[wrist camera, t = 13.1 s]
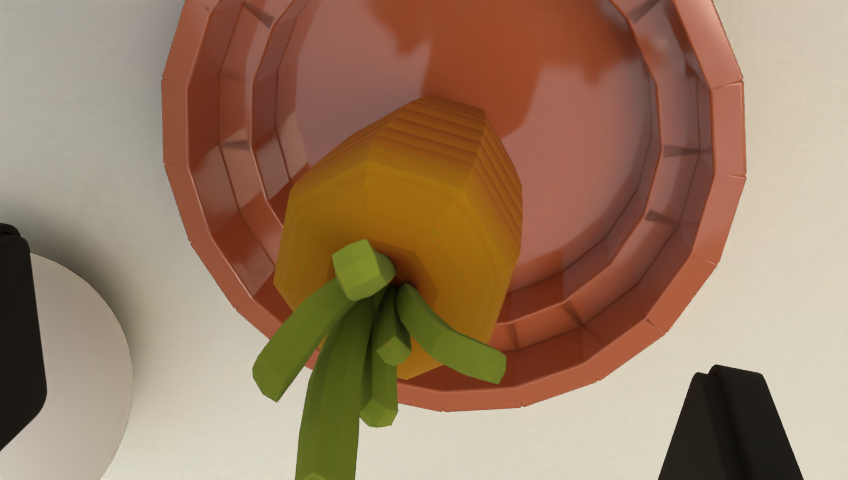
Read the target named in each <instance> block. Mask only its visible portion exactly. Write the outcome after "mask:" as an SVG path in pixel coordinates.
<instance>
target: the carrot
mask: <svg viewBox="0 0 848 480" xmlns="http://www.w3.org/2000/svg"><path fill="white" fill-rule="evenodd" d="M522 221H523V201H522V185H521V182H520V179H519V177H518V174H517V171H516V168H515V166H514V164H513V162H512V160H511V159H510V157H509V155H508V153H507V151H506V149H505V147H504V145H503V144H502V142H501V140H500V138H499V137H498V135H497V133H496V131H495V129H494V128H493V126H492V124H491V122H490V120H489V119H488V117H487V115H486V113H485V112H484V110H483V109H480V108H477V107H473V106H470V105H467V104H463V103H460V102H456V101H453V100H449V99H446V98H443V97H439V96H436V95H434V96H425V97H422V98H419V99H416V100H413V101H411V102H409V103H407V104H406V105H404V106H402V107H400V108H398V109H397V110H395V111H393V112H391V113H390V114H388V115H386V116H384V117H383V118H381V119H379V120H377V121H375V122H374V123H372V124H370V125H368V126H367V127H365V128H363V129H361V130H359V131H358V132H356V133H354V134H352V135H351V136H349V137H348V138H347V139H345V140H344V141H343V142H342V143H340V144H339V145H338V146H337V147H335V148H334V149H333V150H332V151H330V152H329V153H328V154H327V155H325V156H324V157H323V158H322V159H321V160H320V161H319V162H317V163H316V164H315V165H314V166H313V167H312V168H311V169H310V170H309V171H308V172H307V173H306V174H304V175H303V176H302V177H301V178H300V179H299V180H298V181H297V182H296V183H295V184H294V185H293V187H292V189H291V190H290V193H289V198H288V204H287V209H286V215H285V220H284V226H283V231H282V237H281V242H280V248H279V253H278V259H277V264H276V270H275V275H274V281H273V284H274V285H275V287H276V288H277V290H278V291H279V292H280V294H281V295H282V297H283V298H284V300H285V301H286V303H287V304H288V305H289V307H290V308H291V310H292V311H293V313H292V314H291V315H290V317H289V318H288V319H287V320H286V321H285V322H284V323H283V324H282V325H281V326H280V328H279V329H278V330H277V332H276V333H275V334H274V336H273V337H272V338H271V340H270V341H269V342H268V344H267V345H266V346H265V348H264V349H263V350H262V352H261V353H260V354H259V356H258V357H257V360H256V362H255V364H254V366H253V368H252V370H253V378H254V380H255V382H256V383H257V385H258V387H259V388H260V390H261V392H262V394H264V395H265V396H267V397H269V398H270V399H272V400H273V401H275V402H276V403H277V402H278V401H279V399H280V398H281V397H282V395H283V394H284V392H285V391H286V390H287V388H288V387H289V386H290V384H291V383H292V382H293V380H294V379H295V378H296V376H297V375H298V374H299V372H300V371H301V369H302V368H303V367H304V365H305V364H306V362H307V361H308V360H309V358H310V357H311V355H312V354H313V352H314V351H315V350H316V348H317V347H318V349H319V350H320V353H319V355H318V358H317V361H316V363H315V366H314V369H313V371H312V374H311V377H310V380H309V382H308V388H307V394H306V399H305V405H304V410H303V416H302V421H301V427H300V432H299V442H298V453H297V464H296V475H295V480H355V471H356V459H357V448H358V436H359V417H360V418H361V419H362V420H363V421H364V422H365V423H366V424H367V425H368V426H370V427H385V426H390V425H392V423H393V421H394V419H395V417H396V414H397V412H398V401H397V377H398V378H401V379H404V380H408V379H410V378H413V377H415V376H417V375H420V374H422V373H425V372H427V371H430V370H432V369H434V368H437V367H439V366H442V365H446V366H448V367H450V368H452V369H454V370H456V371H458V372H460V373H462V374H464V375H467V376H470V377H474V378H477V379H481V380H484V381H487V382H491V383H495V384H499V383H500V381H501V379H502V377H503V375H504V373H505V372H506V361H507V356H506V355H504V354H503V353H502V352H500V351H499V350H497V349H495V348H493V347H491V346H489V345H487V344H488V343H489V341H490V339H491V337H492V334H493V331H494V328H495V325H496V322H497V319H498V316H499V313H500V310H501V307H502V305H503V302H504V299H505V296H506V293H507V290H508V287H509V284H510V281H511V278H512V275H513V272H514V270H515V267H516V264H517V261H518V258H519V255H520V252H521V238H522Z"/></svg>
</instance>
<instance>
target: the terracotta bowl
mask: <svg viewBox="0 0 848 480" xmlns="http://www.w3.org/2000/svg"><path fill="white" fill-rule="evenodd" d="M162 78H163V79H162V81H161V87H162V127H163V162H164V164H165V165H164V167H165V170H166V173H167V176H168V179H169V182H170V185H171V188H172V191H173V194H174V197H175V200H176V203H177V206H178V209H179V212H180V215H181V218H182V221H183V224H184V227H185V230H186V233H187V236H188V240H189V241H190V242H191V246H192V247H193V249H194V250H195V252H196V253H197V255H198V256H199V257H200V259H201V260H202V262H203V263H204V265H205V266H206V268H207V269H208V271H209V272H210V274H211V275H212V277H213V278H214V280H215V281H216V283H217V284H218V286H219V287H220V288H221V290H222V291H223V293H224V294H225V296H226V297H227V299H228V300H229V302H230V303H231V305H232V306H233V308H236V311H237V312H238V313H239V314H241V315H242V316H243V317H244V318H245V319H246V320H248V321H249V322H250V323H251V324H252V325H253V326H254V327H256V328H257V329H258V330H259V331H260V332H261V333H263V334H264V335H265V336H266V337H267V338H268V339H269V340H271V338H272V337H273V336H274V334H275V333H276V332H277V330H278V329H279V328H280V326H281V325H282V324H283V323H284V322H285V321H286V320H287V319H288V318H289V317H290V315H291V314H292V313H293V311H292V310H291V308H290V307H289V305H288V304H287V303H286V301H285V300H284V298H283V297H282V295H281V294H280V292H279V291H278V290H277V288H276V287H275V285H274V284H273V281H274V275H275V270H276V264H277V259H278V253H279V248H280V242H281V237H282V231H283V226H284V220H285V215H286V209H287V204H288V198H289V193H290V190H291V189H292V187H293V185H294V184H295V183H296V182H297V181H298V180H299V179H300V178H301V177H302V176H303V175H304V174H306V173H307V172H308V171H309V170H310V169H311V168H312V167H313V166H314V165H315V164H316V163H317V162H319V161H320V160H321V159H322V158H323V157H324V156H325V155H327V154H328V153H329V152H330V151H332V150H333V149H334V148H335V147H337V146H338V145H339V144H340V143H342V142H343V141H344V140H345V139H347V138H348V137H349V136H351V135H352V134H354V133H356V132H358V131H359V130H361V129H363V128H365V127H367V126H368V125H370V124H372V123H374V122H375V121H377V120H379V119H381V118H383V117H384V116H386V115H388V114H390V113H391V112H393V111H395V110H397V109H398V108H400V107H402V106H404V105H406V104H407V103H409V102H411V101H413V100H416V99H419V98H422V97H425V96H434V95H436V96H439V97H443V98H446V99H449V100H453V101H456V102H460V103H463V104H467V105H470V106H473V107H477V108H480V109H483V110H484V112H485V113H486V115H487V117H488V119H489V120H490V122H491V124H492V126H493V128H494V129H495V131H496V133H497V135H498V137H499V138H500V140H501V142H502V144H503V145H504V147H505V149H506V151H507V153H508V155H509V157H510V159H511V160H512V162H513V164H514V166H515V168H516V171H517V174H518V177H519V179H520V182H521V185H522V201H523V221H522V238H521V252H520V255H519V258H518V261H517V264H516V267H515V270H514V272H513V275H512V278H511V281H510V284H509V287H508V290H507V293H506V296H505V299H504V302H503V305H502V307H501V310H500V313H499V316H498V319H497V322H496V325H495V328H494V331H493V334H492V337H491V339H490V341H489V343H488V344H487V345H489V346H491V347H493V348H495V349H497V350H499V351H500V352H502V353H503V354H504V355H506V356H507V361H506V372H505V373H504V375H503V377H502V379H501V381H500V383H499V384H495V383H491V382H487V381H484V380H481V379H477V378H474V377H470V376H467V375H464V374H462V373H460V372H458V371H456V370H454V369H452V368H450V367H448V366H446V365H442V366H439V367H437V368H434V369H432V370H430V371H427V372H425V373H422V374H420V375H417V376H415V377H413V378H410V379H408V380H404V379H401V378H398V377H397V401H398V403H400V404H405V405H410V406H415V407H420V408H424V409H429V410H434V411H439V412H442V411H444V412H455V411H473V410H490V409H508V408H520V407H521V406H523V407H526V406H529V405H531V404H534V403H537V402H540V401H543V400H546V399H549V398H552V397H555V396H558V395H561V394H564V393H567V392H569V391H572V390H575V389H578V388H581V387H584V386H587V385H590V384H593V383H596V382H597V381H598V380H599V381H601V380H602V379H603V378H605V377H606V376H608V375H609V374H610V373H612V372H613V371H615V370H616V369H617V368H619V367H620V366H622V365H623V364H624V363H626V362H627V361H629V360H630V359H631V358H633V357H634V356H636V355H637V354H638V353H640V352H641V351H643V350H644V349H645V348H647V347H648V346H650V345H651V344H652V343H654V342H655V341H657V340H658V339H659V338H661V337H662V336H664V335H665V334H666V332H668V331H669V330H670V328H671V327H672V326H673V324H674V323H675V321H676V320H677V319H678V317H679V316H680V315H681V313H682V312H683V311H684V309H685V308H686V307H687V305H688V304H689V303H690V301H691V300H692V299H693V297H694V296H695V295H696V293H697V292H698V291H699V289H700V288H701V287H702V285H703V284H704V283H705V281H706V280H707V279H708V277H709V276H710V275H711V273H712V272H713V270H714V269H715V268H716V266H717V265H718V263H719V262H720V259H721V256H722V253H723V249H724V246H725V243H726V240H727V237H728V234H729V231H730V228H731V225H732V222H733V218H734V215H735V212H736V209H737V206H738V203H739V200H740V197H741V194H742V191H743V187H744V184H745V181H746V176H745V175H746V172H747V169H746V137H745V105H744V82H743V80H742V79H743V75H742V73H741V70H740V68H739V65H738V63H737V60H736V58H735V55H734V53H733V50H732V48H731V45H730V43H729V40H728V38H727V35H726V33H725V30H724V28H723V25H722V23H721V20H720V18H719V15H718V13H717V10H716V8H715V5H714V3H713V0H185V2H184V5H183V9H182V12H181V15H180V19H179V22H178V25H177V29H176V32H175V35H174V39H173V42H172V45H171V49H170V52H169V55H168V59H167V62H166V65H165V69H164V72H163V75H162ZM319 353H320V350H319V349H318V347H317V348H316V350H315V351H314V352H313V354H312V355H311V357H310V358H309V360H308V361H307V362H306V364H305V365H304V366H305V367H307V368H309V369H311V370H313V369H314V366H315V363H316V361H317V358H318V355H319Z"/></svg>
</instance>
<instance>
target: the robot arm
mask: <svg viewBox="0 0 848 480" xmlns="http://www.w3.org/2000/svg"><path fill="white" fill-rule="evenodd" d="M46 397H47V382H46V374H45V367H44V359H43V351H42V343H41V335H40V327H39V319H38V311H37V303H36V295H35V288H34V280H33V272H32V264H31V256H30V249H29V245H28V243H27V241H26V240H25V239H24V238H22V237H21V236H20V233H19V232H18V230H17V228H15V227H14V226H12V225H9V224H4V223H0V451H1V450H2V449H3V448H4V447H5V446H6V445H7V444H9V443H10V442H11V441H12V440H13V439H14V438H15V437H16V436H17V435H18V434H19V433H20V432H21V431H22V430H23V429H24V428H25V427H26V426H27V425H28V424H29V423H30V422H31V421H32V420H33V419H34V418H35V417H36V416H37V415H38V414H39V412H40V411H41V409H42V408H43V406H44V403H45V401H46ZM658 480H804V479H803V477H802V474H801V472H800V469H799V466H798V464H797V461H796V459H795V456H794V453H793V451H792V448H791V446H790V443H789V441H788V438H787V435H786V433H785V430H784V428H783V425H782V422H781V420H780V417H779V415H778V412H777V409H776V407H775V404H774V402H773V399H772V396H771V394H770V391H769V389H768V386H767V383H766V381H765V379H764V377H763V375H762V374H760V373H757V372H752V371H747V370H742V369H737V368H732V367H727V366H721V365H714V366H712V368H711V369H710V371H709V373H708V374H704V373H699V372H697V373H695V375H694V376H693V378H692V381H691V383H690V386H689V389H688V392H687V395H686V398H685V401H684V404H683V407H682V410H681V413H680V416H679V419H678V422H677V425H676V428H675V431H674V434H673V436H672V439H671V442H670V445H669V448H668V451H667V454H666V457H665V460H664V463H663V466H662V469H661V472H660V475H659V478H658Z"/></svg>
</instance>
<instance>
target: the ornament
mask: <svg viewBox="0 0 848 480" xmlns="http://www.w3.org/2000/svg"><path fill="white" fill-rule="evenodd" d="M30 256H31V264H32V272H33V280H34V288H35V295H36V303H37V311H38V319H39V327H40V335H41V343H42V351H43V359H44V367H45V374H46V382H47V397H46V401H45V403H44V406H43V408H42V409H41V411H40V412H39V414H38V415H37V416H36V417H35V418H34V419H33V420H32V421H31V422H30V423H29V424H28V425H27V426H26V427H25V428H24V429H23V430H22V431H21V432H20V433H19V434H18V435H17V436H16V437H15V438H14V439H13V440H12V441H11V442H10V443H9V444H7V445H6V446H5V447H4V448H3V449H2V450H1V451H0V480H100V478H101V477H102V476H103V474H104V473H105V471H106V470H107V468H108V467H109V465H110V463H111V461H112V460H113V458H114V456H115V454H116V452H117V450H118V448H119V445H120V443H121V441H122V438H123V435H124V433H125V429H126V426H127V423H128V419H129V415H130V410H131V404H132V396H133V368H132V361H131V355H130V351H129V347H128V344H127V341H126V338H125V335H124V333H123V330H122V328H121V326H120V324H119V322H118V320H117V318H116V317H115V315H114V313H113V312H112V310H111V309H110V307H109V306H108V305H107V303H106V302H105V301H104V300H103V298H102V297H101V296H100V295H99V294H98V293H97V292H96V291H95V290H94V289H93V288H92V287H91V286H90V285H89V284H88V283H87V282H86V281H84V280H83V279H82V278H81V277H79V276H78V275H76V274H75V273H73V272H72V271H70V270H69V269H67V268H65V267H63V266H62V265H60V264H58V263H56V262H54V261H51V260H49V259H47V258H44V257H42V256H39V255H36V254H33V253H30Z"/></svg>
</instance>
